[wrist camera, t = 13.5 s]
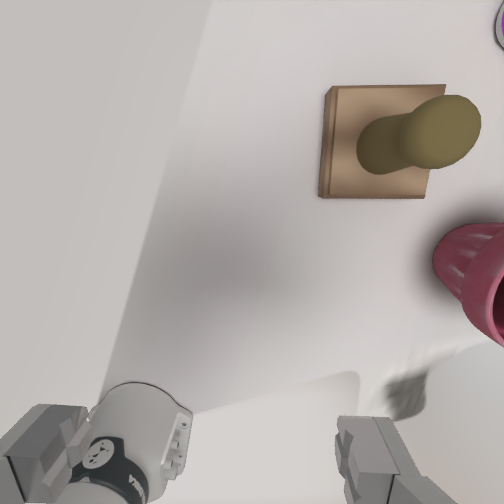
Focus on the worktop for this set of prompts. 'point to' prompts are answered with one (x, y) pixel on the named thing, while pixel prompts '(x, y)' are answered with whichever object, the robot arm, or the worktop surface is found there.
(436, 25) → the worktop surface
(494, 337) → the plant pot
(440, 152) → the cork
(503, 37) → the supplement bottle
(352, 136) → the walnut stand
